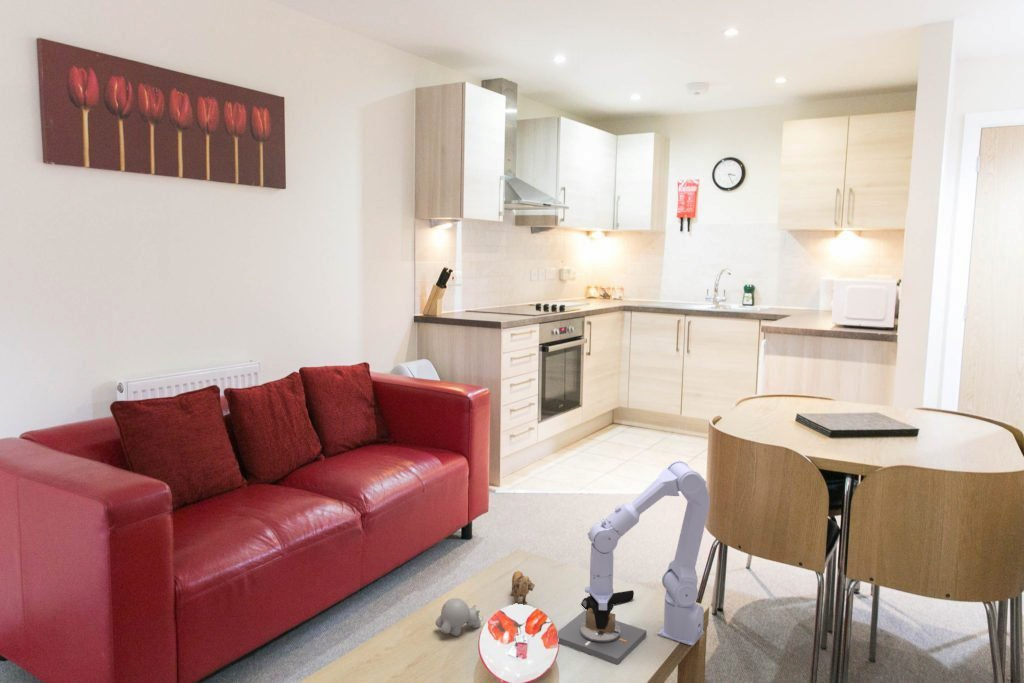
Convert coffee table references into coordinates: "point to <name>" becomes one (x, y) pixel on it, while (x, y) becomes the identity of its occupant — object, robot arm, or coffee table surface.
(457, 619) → the chubby cartoon animal
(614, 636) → the dial
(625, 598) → the electric trimmer
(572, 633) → the dial base
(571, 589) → the coffee table surface
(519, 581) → the lion figurine
